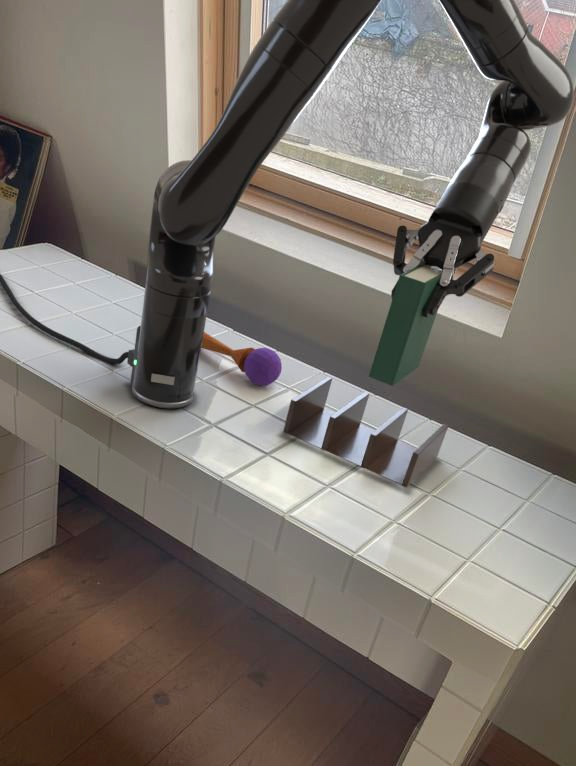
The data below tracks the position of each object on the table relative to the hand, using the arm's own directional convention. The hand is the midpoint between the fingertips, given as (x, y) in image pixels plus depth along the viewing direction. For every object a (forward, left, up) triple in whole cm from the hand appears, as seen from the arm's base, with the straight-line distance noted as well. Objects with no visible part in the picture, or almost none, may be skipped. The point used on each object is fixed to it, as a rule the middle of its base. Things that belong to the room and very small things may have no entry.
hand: (410, 308), depth 106 cm
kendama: (-31, -1, -23) cm, 39 cm away
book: (-1, +2, -10) cm, 10 cm away
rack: (-2, +1, -23) cm, 23 cm away
